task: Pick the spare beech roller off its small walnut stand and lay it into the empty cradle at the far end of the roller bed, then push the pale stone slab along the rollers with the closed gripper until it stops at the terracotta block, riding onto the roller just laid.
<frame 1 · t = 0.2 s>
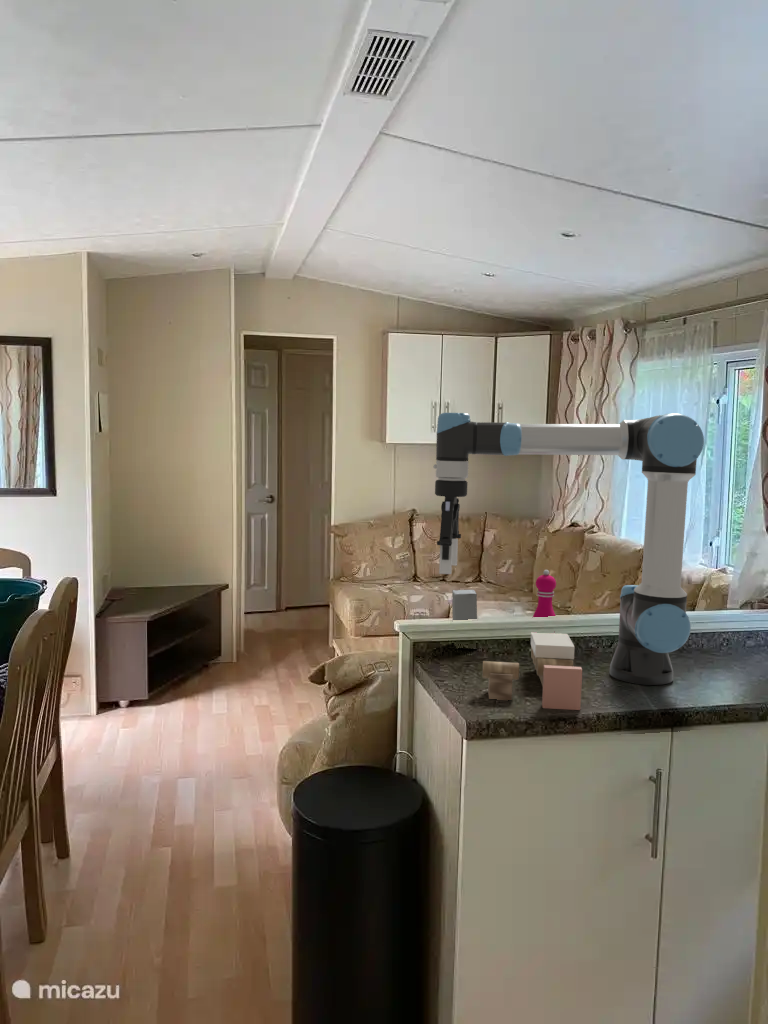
hand: (448, 569, 191), 27 cm above the counter, tool pointing down, fingers open, 13 cm apart
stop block: (561, 707, 177), on the counter
slab: (551, 651, 198), point 7 cm above the counter, touching roller bed
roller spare: (500, 678, 184), point 4 cm above the counter, touching pedestal
skincare box: (463, 647, 228), on the counter
pepper mill: (543, 636, 244), on the counter
pedestal: (499, 695, 184), on the counter
roller bed: (552, 685, 193), on the counter
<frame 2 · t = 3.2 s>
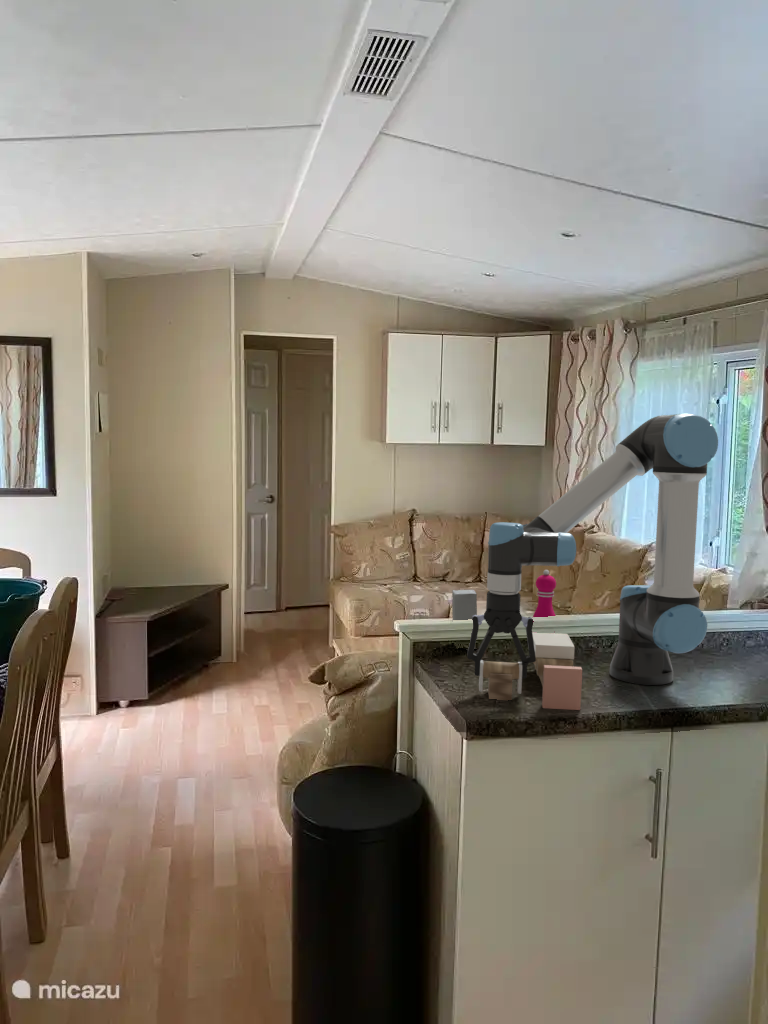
hand: (499, 690, 184), 1 cm above the counter, tool pointing down, fingers closed on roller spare, 8 cm apart
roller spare: (500, 678, 184), point 4 cm above the counter, touching gripper, pedestal
everything else where it was.
when the fingers open (1 cm above the counter, at t = 8.2 s): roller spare drops 1 cm, resting on roller bed.
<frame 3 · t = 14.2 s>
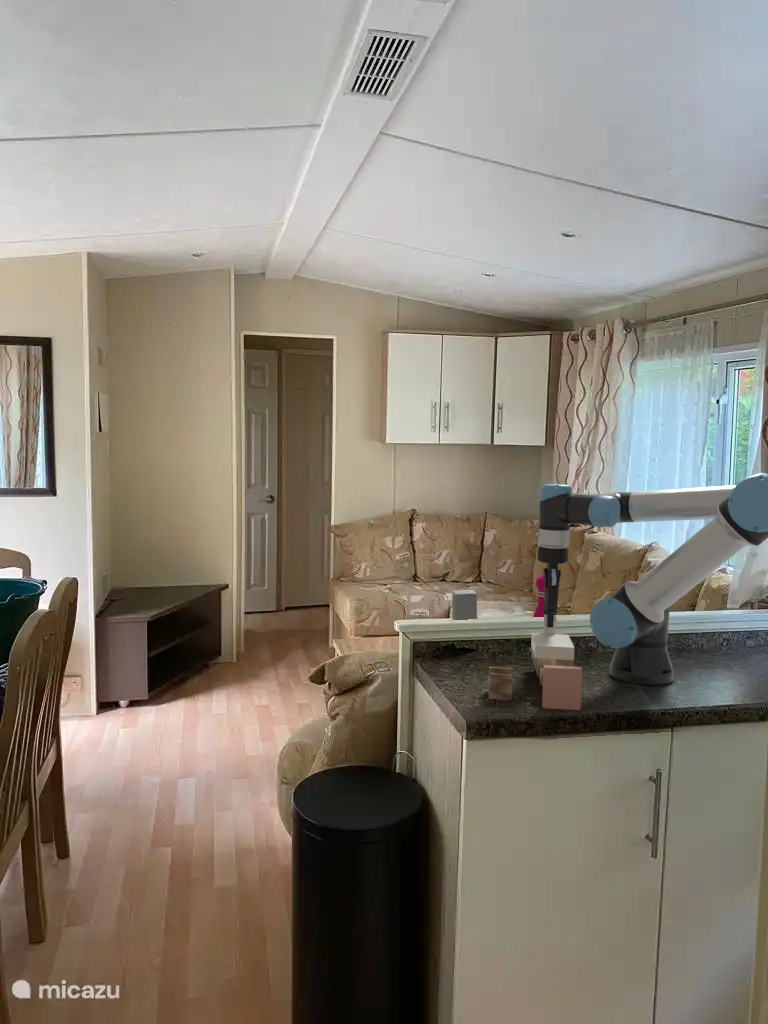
hand: (548, 639, 204), 8 cm above the counter, tool pointing down, fingers closed
slab: (551, 652, 197), point 7 cm above the counter, touching gripper
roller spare: (558, 685, 183), point 3 cm above the counter, touching roller bed
everything else where it was.
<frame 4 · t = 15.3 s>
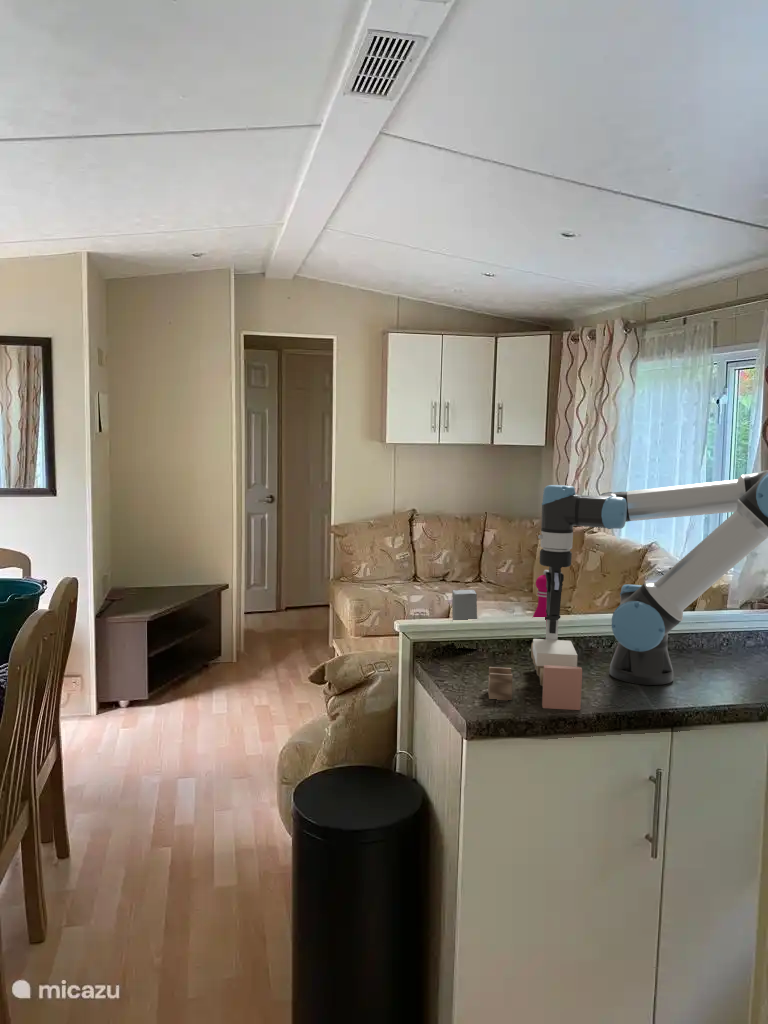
hand: (551, 645, 197), 9 cm above the counter, tool pointing down, fingers closed
slab: (553, 659, 190), point 7 cm above the counter, touching gripper, roller bed
everything else where it was.
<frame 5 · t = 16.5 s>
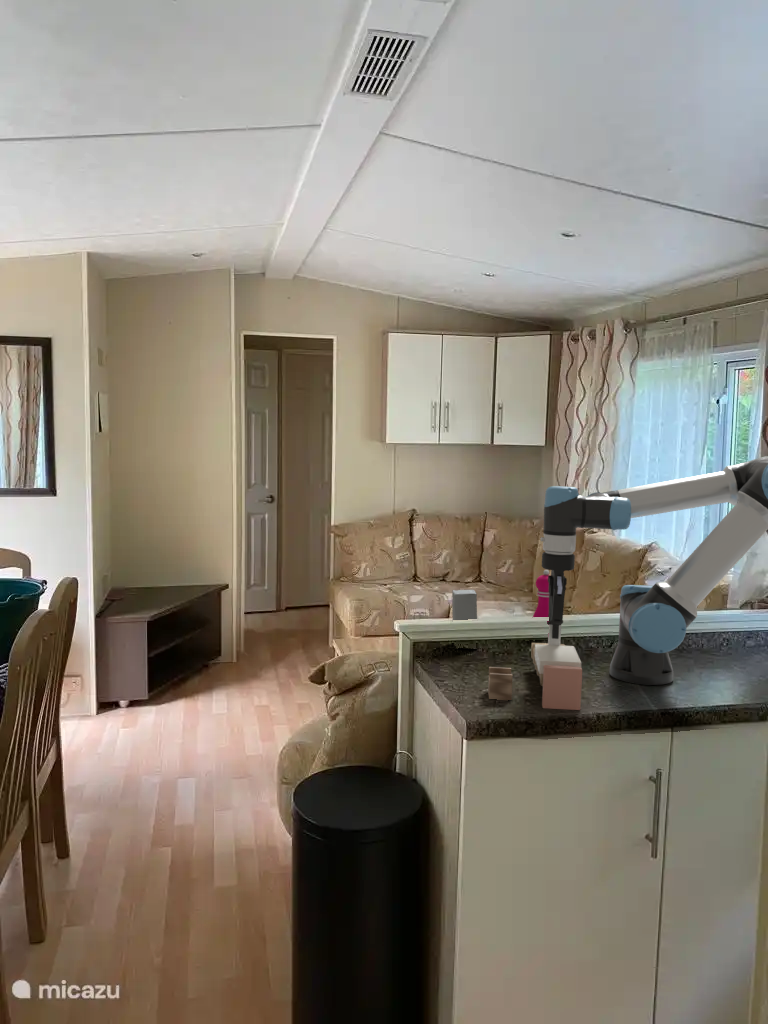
hand: (553, 650, 192), 8 cm above the counter, tool pointing down, fingers closed
slab: (556, 665, 185), point 7 cm above the counter, touching gripper, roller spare
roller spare: (558, 684, 183), point 3 cm above the counter, tilted 22°, touching roller bed, slab
everything else where it was.
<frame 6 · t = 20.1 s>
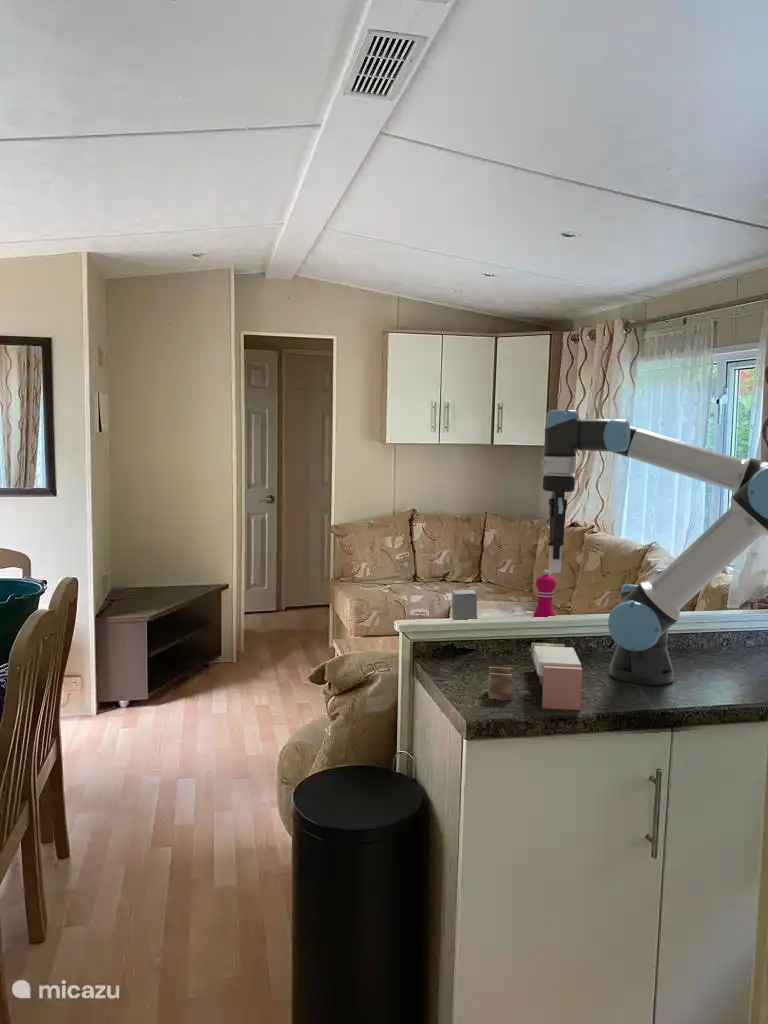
hand: (554, 572, 196), 26 cm above the counter, tool pointing down, fingers closed
slab: (556, 667, 184), point 7 cm above the counter, touching roller bed, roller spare
everything else where it was.
at the end: slab 0.5 cm from the target spot, point 6.8 cm above the counter; slab tilted 2°; slab touching roller bed, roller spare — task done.
